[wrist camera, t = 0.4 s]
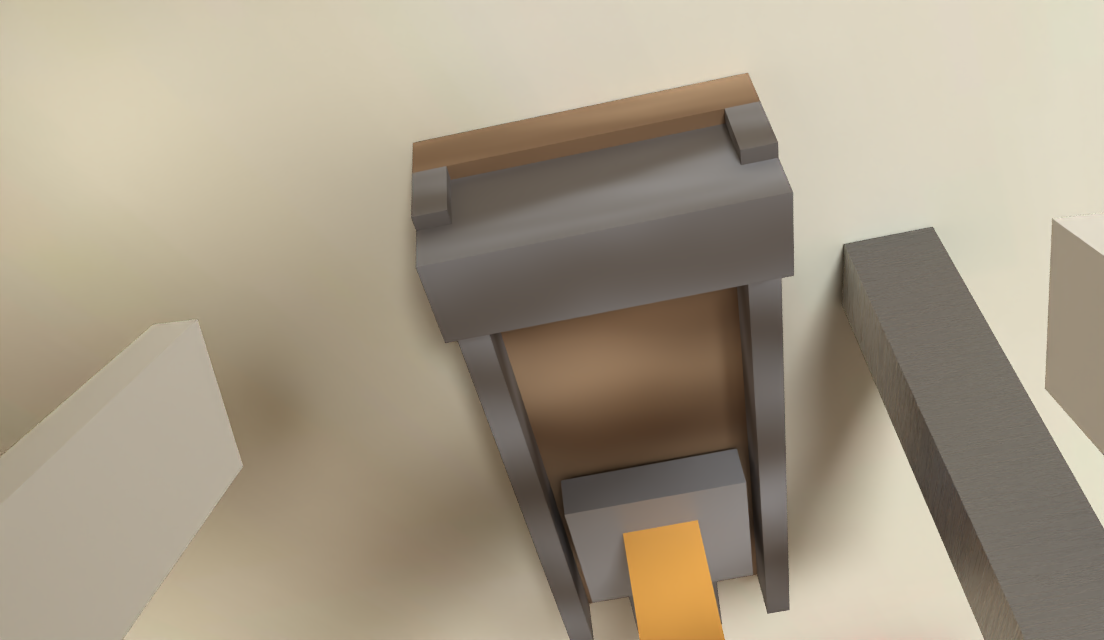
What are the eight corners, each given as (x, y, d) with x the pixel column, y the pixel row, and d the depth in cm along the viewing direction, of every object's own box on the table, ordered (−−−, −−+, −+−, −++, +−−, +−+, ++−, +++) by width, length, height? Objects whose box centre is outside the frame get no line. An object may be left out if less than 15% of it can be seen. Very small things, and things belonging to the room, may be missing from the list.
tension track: (413, 142, 29) (410, 253, 25) (747, 72, 28) (792, 176, 25) (565, 578, 47) (576, 678, 44) (770, 543, 47) (798, 640, 43)
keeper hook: (571, 297, 34) (661, 916, 21) (932, 227, 33) (1271, 825, 20) (585, 354, 36) (675, 948, 23) (925, 289, 35) (1226, 868, 22)
